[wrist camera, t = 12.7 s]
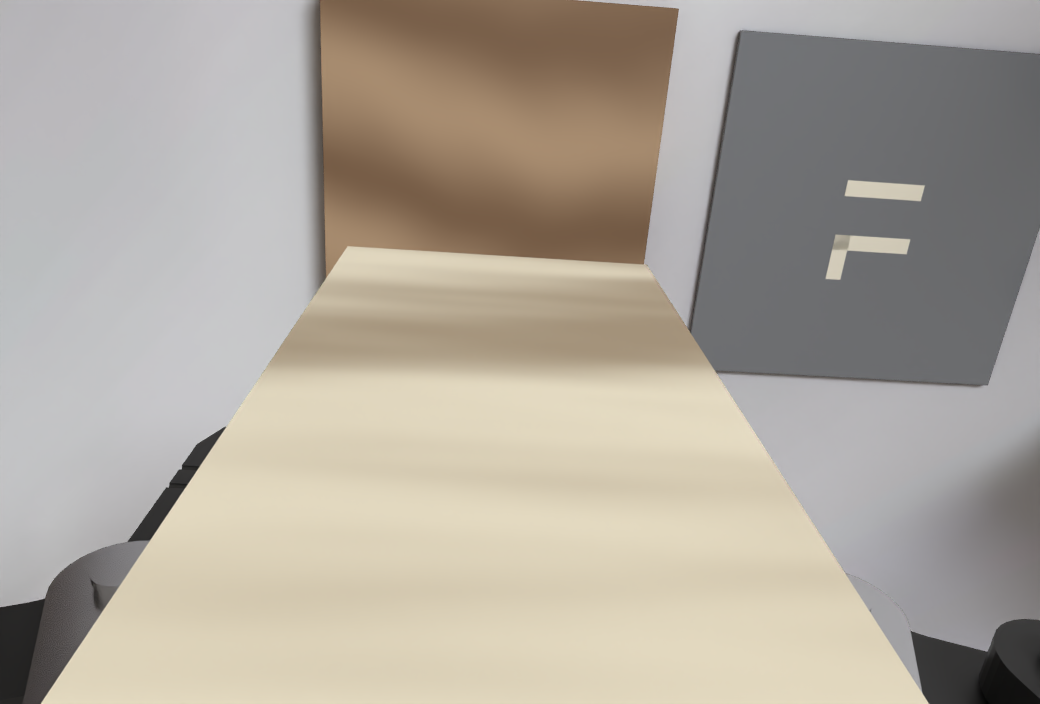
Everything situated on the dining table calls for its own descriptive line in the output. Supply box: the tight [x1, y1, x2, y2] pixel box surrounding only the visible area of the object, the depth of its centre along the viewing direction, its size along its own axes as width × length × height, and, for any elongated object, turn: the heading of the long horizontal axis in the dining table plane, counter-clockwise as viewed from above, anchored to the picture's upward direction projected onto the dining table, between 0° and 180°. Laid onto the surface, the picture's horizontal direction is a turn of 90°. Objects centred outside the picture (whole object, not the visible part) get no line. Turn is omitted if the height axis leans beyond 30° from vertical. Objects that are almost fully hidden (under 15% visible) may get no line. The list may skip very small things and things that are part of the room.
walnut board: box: [320, 0, 679, 278], centre depth 29 cm, size 14×12×1 cm
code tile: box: [690, 30, 1040, 385], centre depth 31 cm, size 13×13×1 cm
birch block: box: [41, 246, 929, 704], centre depth 9 cm, size 5×5×10 cm
